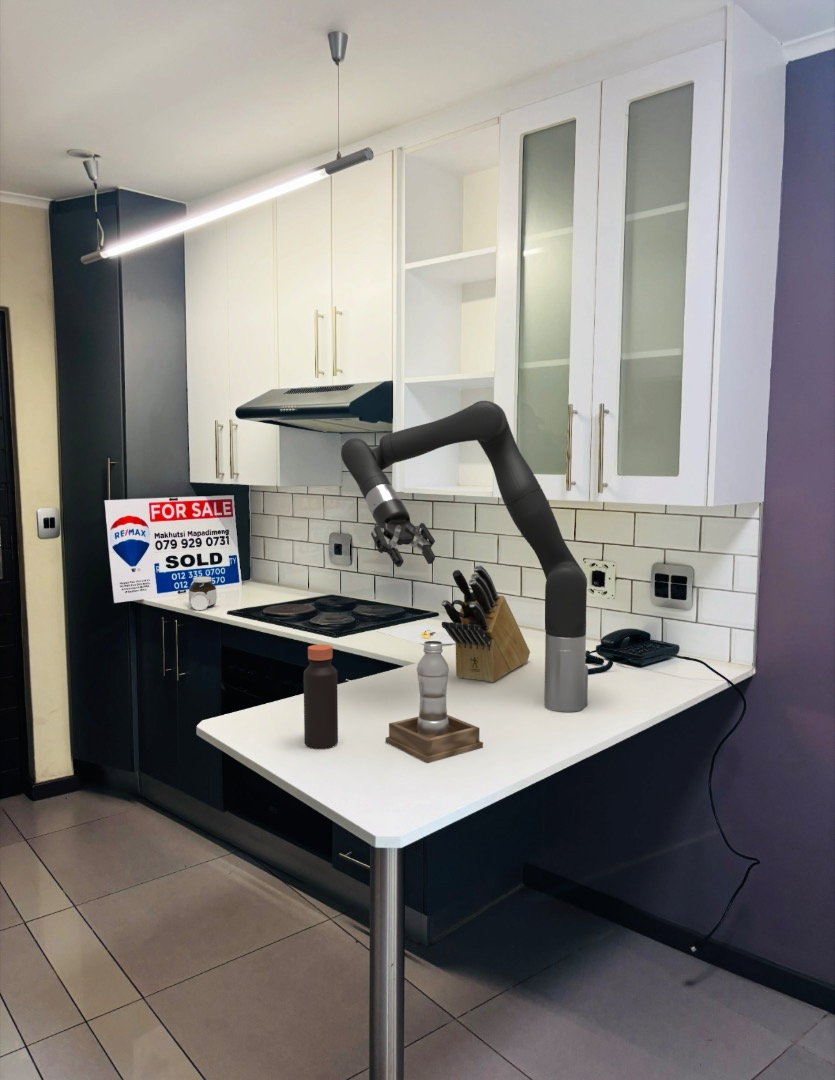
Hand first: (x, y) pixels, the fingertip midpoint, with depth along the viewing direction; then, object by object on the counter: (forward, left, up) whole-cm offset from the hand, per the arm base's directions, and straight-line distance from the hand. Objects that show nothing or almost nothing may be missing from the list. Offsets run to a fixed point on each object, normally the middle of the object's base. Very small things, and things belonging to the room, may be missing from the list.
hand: (416, 563), depth 177 cm
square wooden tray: (+8, +17, -35) cm, 39 cm away
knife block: (-36, -18, -35) cm, 54 cm away
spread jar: (-12, -156, -35) cm, 160 cm away
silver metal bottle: (+8, +16, -34) cm, 39 cm away
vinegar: (+26, +3, -35) cm, 44 cm away
